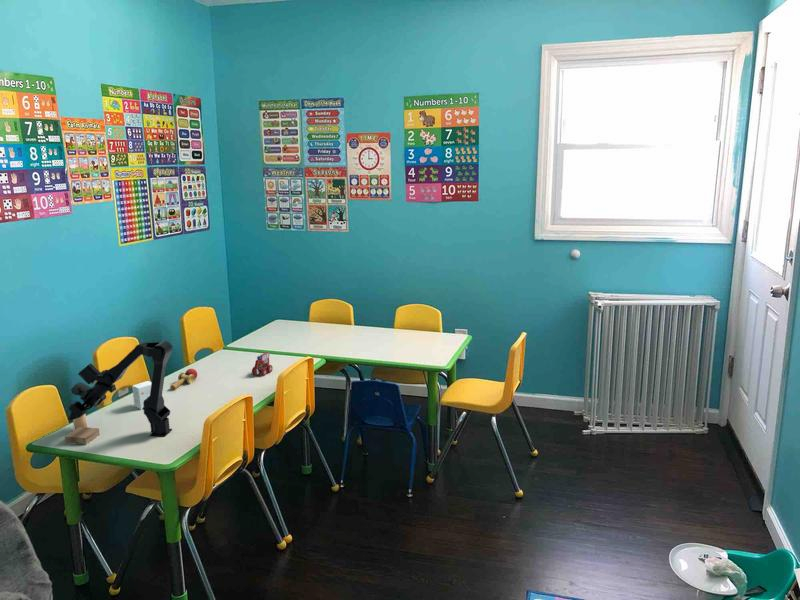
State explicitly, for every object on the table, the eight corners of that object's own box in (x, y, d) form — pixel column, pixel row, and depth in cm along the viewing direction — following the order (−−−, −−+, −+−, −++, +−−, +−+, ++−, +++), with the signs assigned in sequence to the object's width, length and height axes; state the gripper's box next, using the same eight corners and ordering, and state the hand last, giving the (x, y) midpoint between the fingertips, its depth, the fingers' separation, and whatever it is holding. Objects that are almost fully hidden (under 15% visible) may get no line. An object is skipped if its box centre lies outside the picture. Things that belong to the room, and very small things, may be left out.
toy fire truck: (249, 376, 328) (248, 357, 326) (263, 368, 339) (262, 350, 337) (261, 378, 325) (259, 358, 323) (274, 370, 337) (273, 351, 334)
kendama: (181, 393, 310) (202, 376, 326) (177, 382, 308) (198, 365, 324) (169, 394, 312) (190, 377, 328) (164, 383, 310) (186, 366, 326)
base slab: (99, 434, 262) (98, 428, 262) (86, 444, 254) (85, 437, 253) (79, 433, 264) (78, 427, 263) (65, 443, 255) (64, 436, 254)
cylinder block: (89, 428, 269) (86, 404, 266) (82, 433, 264) (79, 408, 262) (79, 427, 270) (76, 403, 267) (72, 432, 265) (68, 408, 262)
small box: (150, 401, 297) (148, 380, 294) (156, 404, 293) (154, 383, 291) (134, 407, 291) (131, 385, 288) (140, 410, 287) (138, 388, 285)
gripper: (96, 369, 270) (75, 393, 274) (69, 386, 252) (47, 410, 256) (115, 387, 271) (94, 411, 275) (90, 405, 253) (68, 429, 257)
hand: (76, 415), depth 265 cm, fingers open, 9 cm apart
